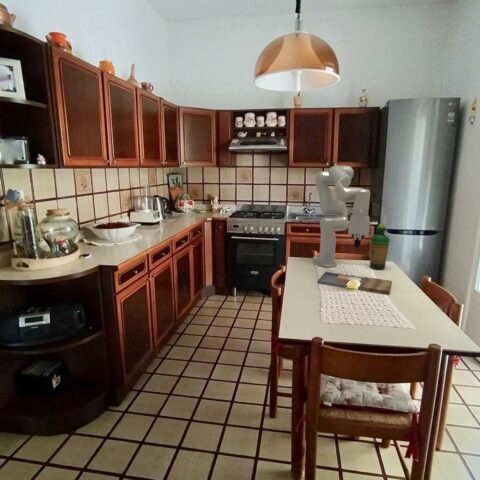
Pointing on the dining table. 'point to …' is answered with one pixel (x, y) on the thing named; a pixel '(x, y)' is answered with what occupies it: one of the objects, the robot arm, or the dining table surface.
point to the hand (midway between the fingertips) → (357, 246)
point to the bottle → (379, 248)
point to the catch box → (334, 280)
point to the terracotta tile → (343, 279)
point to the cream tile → (354, 278)
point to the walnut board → (376, 285)
